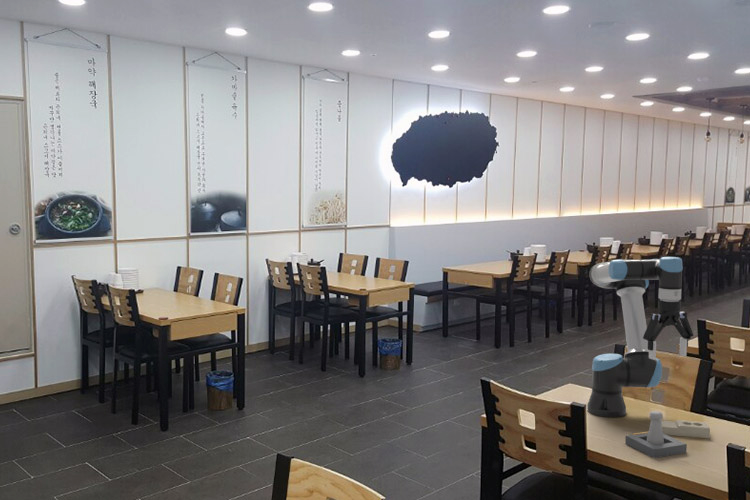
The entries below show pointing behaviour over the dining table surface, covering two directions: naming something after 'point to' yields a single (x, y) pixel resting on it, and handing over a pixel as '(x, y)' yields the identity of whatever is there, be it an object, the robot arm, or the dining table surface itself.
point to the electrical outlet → (686, 428)
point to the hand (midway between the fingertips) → (667, 357)
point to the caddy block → (666, 449)
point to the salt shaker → (655, 428)
